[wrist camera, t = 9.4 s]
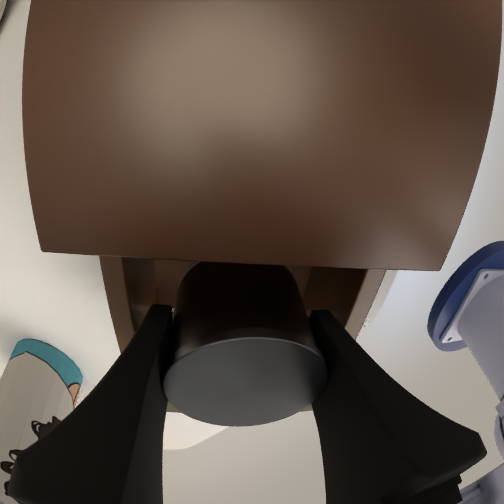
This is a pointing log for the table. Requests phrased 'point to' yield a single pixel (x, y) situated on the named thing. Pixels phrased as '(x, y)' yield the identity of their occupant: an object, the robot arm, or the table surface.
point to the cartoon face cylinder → (33, 400)
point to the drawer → (173, 271)
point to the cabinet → (258, 127)
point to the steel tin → (241, 346)
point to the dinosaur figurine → (2, 7)
